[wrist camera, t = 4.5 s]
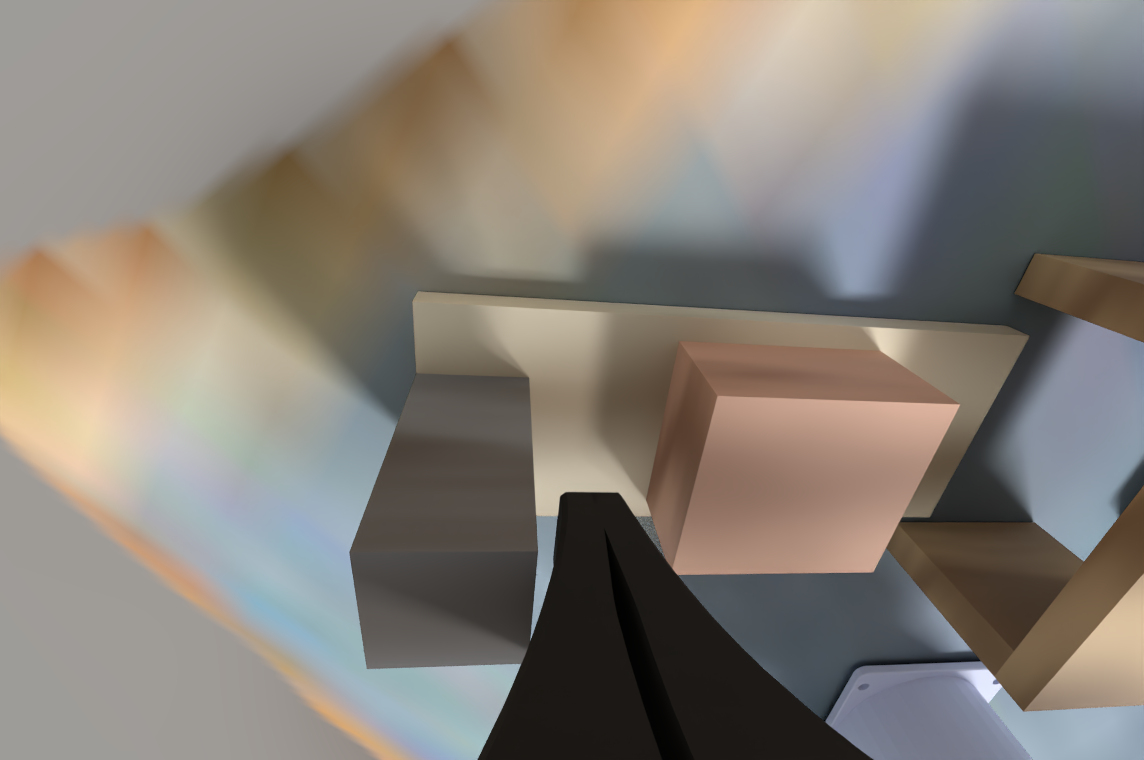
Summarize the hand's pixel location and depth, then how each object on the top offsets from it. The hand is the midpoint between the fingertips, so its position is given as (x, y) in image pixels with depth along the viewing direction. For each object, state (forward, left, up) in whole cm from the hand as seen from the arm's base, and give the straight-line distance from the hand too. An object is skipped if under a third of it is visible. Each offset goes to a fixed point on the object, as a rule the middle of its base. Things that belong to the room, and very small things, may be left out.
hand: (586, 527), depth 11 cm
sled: (0, -5, -5) cm, 7 cm away
